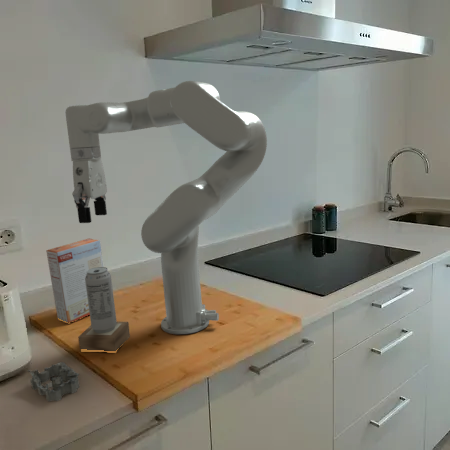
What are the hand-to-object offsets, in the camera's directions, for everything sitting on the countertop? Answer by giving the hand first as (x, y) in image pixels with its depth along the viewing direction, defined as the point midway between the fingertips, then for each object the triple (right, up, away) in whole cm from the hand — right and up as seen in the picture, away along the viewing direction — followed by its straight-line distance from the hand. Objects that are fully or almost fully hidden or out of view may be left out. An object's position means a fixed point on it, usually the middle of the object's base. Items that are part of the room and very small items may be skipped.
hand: (93, 218), depth 127 cm
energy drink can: (+6, -27, -11) cm, 30 cm away
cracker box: (-6, -28, +10) cm, 30 cm away
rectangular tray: (+6, -31, -10) cm, 33 cm away
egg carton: (0, -36, -28) cm, 46 cm away
